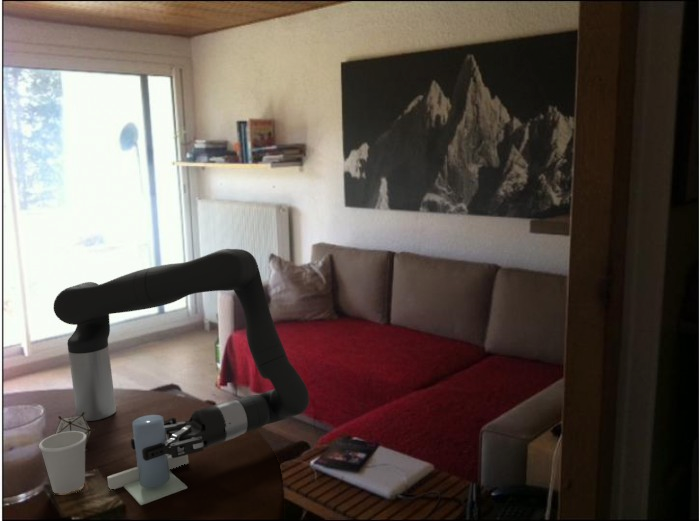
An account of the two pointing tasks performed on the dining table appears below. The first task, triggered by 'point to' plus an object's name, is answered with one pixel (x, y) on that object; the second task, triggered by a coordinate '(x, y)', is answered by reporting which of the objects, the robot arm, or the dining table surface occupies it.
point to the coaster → (154, 490)
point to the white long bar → (132, 474)
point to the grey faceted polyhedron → (74, 426)
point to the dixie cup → (65, 460)
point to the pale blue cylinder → (146, 435)
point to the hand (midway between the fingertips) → (137, 449)
